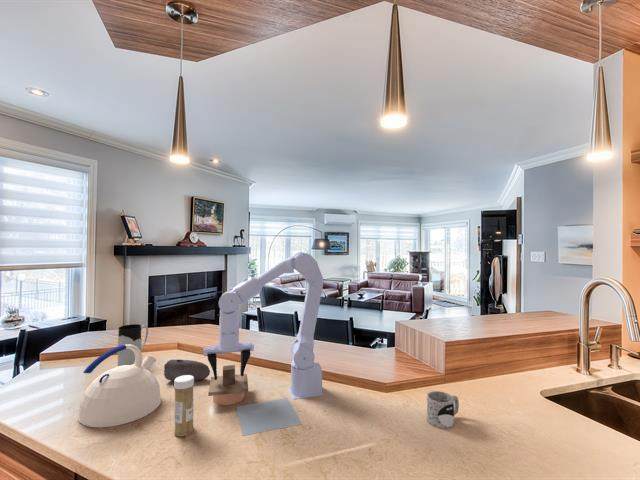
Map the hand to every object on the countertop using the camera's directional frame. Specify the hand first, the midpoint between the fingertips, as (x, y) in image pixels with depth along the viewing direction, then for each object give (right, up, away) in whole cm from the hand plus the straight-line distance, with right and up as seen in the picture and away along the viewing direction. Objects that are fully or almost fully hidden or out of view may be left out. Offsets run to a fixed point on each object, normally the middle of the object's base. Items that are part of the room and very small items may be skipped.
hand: (229, 376), depth 99 cm
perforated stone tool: (-18, -7, +14) cm, 24 cm away
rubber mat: (+13, -7, -10) cm, 18 cm away
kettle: (-29, -7, -5) cm, 30 cm away
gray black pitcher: (-45, -7, +29) cm, 54 cm away
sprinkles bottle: (-6, -7, -17) cm, 20 cm away
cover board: (0, -3, 0) cm, 3 cm away
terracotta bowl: (0, -7, 0) cm, 7 cm away
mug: (+61, -7, -12) cm, 62 cm away
